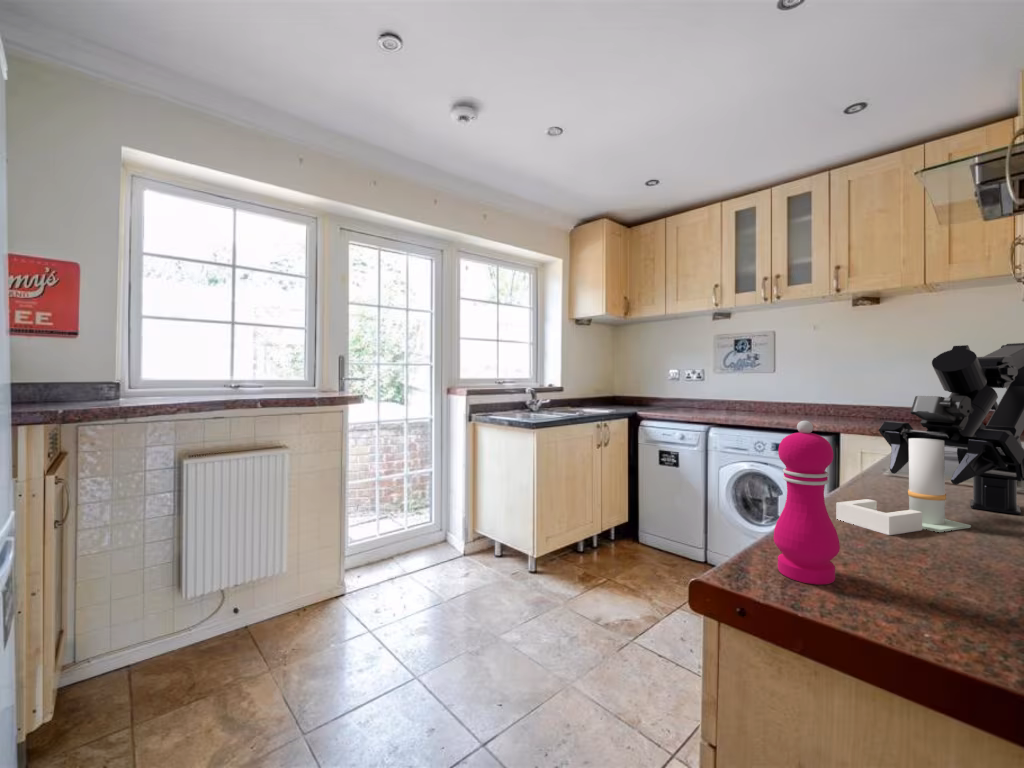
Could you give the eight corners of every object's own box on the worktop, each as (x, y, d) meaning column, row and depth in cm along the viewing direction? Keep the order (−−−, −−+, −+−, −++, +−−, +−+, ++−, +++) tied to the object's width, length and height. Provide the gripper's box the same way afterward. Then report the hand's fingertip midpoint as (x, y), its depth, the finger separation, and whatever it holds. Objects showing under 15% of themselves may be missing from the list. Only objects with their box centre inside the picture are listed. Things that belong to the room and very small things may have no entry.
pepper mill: (849, 577, 58) (849, 420, 58) (824, 592, 54) (824, 424, 54) (789, 559, 64) (788, 417, 64) (763, 571, 60) (762, 420, 60)
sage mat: (916, 514, 84) (916, 512, 84) (970, 527, 77) (970, 525, 77) (885, 518, 82) (885, 516, 82) (937, 532, 74) (937, 530, 74)
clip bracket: (867, 515, 84) (867, 498, 84) (922, 530, 76) (922, 512, 76) (836, 519, 82) (836, 502, 82) (889, 535, 74) (889, 516, 73)
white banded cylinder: (909, 514, 83) (908, 437, 83) (946, 520, 79) (946, 439, 79) (906, 520, 79) (906, 440, 79) (945, 526, 76) (944, 442, 76)
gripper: (885, 379, 89) (842, 439, 86) (1013, 379, 71) (965, 454, 68) (913, 418, 92) (873, 477, 88) (1044, 427, 74) (999, 502, 71)
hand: (920, 477), depth 79 cm, fingers open, 9 cm apart
